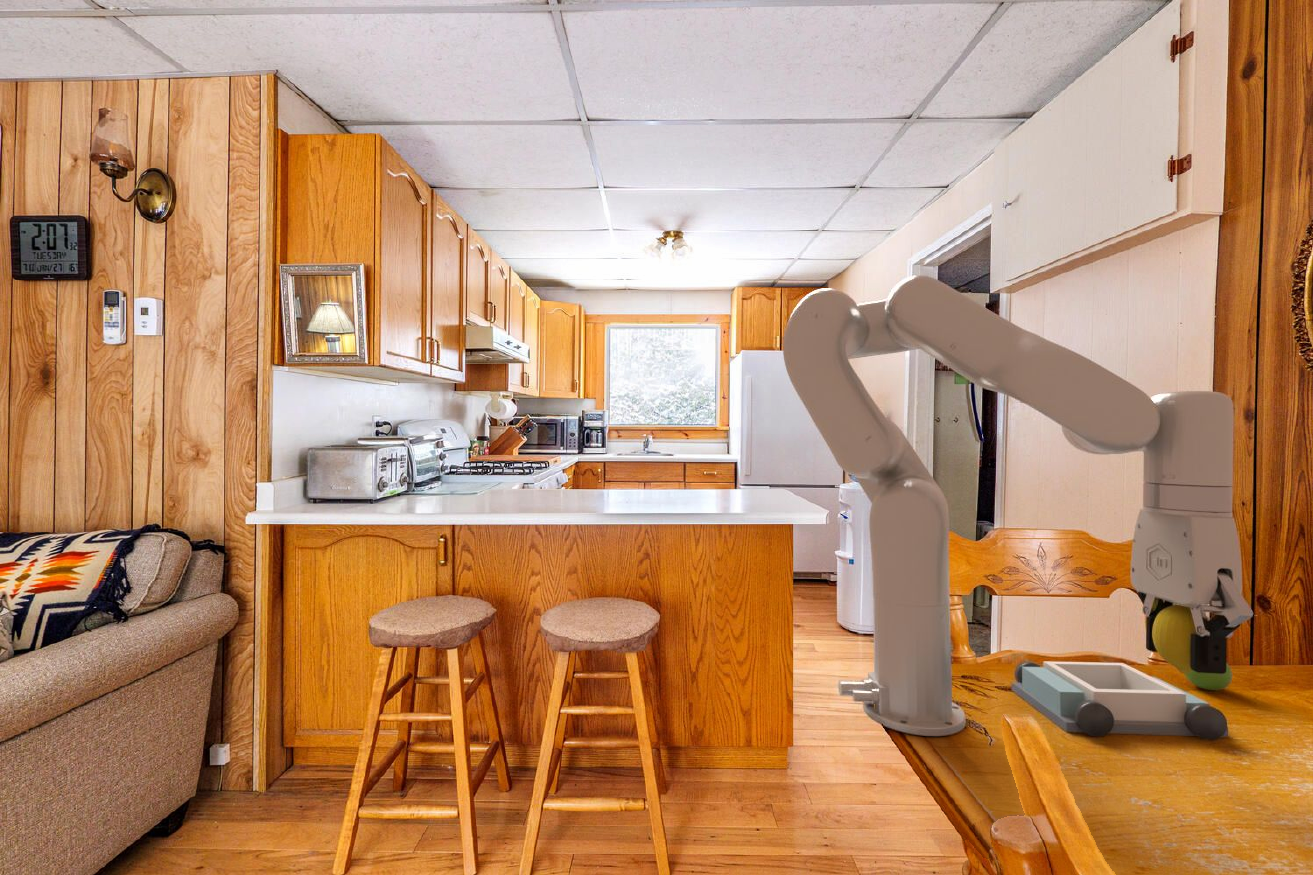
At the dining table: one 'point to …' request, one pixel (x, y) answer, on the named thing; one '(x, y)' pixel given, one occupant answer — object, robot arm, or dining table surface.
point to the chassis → (1114, 701)
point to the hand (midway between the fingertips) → (1184, 659)
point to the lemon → (1174, 636)
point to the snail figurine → (1211, 679)
